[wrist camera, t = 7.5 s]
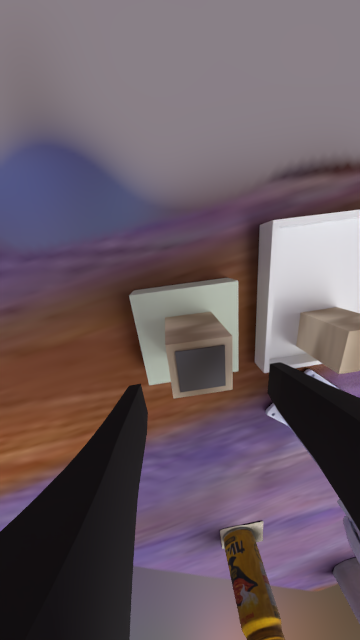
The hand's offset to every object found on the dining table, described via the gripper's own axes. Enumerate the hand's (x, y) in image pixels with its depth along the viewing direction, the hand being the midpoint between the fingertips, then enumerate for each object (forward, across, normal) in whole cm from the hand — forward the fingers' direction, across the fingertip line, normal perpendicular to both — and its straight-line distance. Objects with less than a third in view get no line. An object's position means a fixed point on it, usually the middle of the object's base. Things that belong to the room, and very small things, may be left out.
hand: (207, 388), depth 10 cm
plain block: (+8, -14, +2) cm, 16 cm away
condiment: (+9, -6, +46) cm, 47 cm away
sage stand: (+9, 0, 0) cm, 9 cm away
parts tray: (+9, -14, -2) cm, 17 cm away
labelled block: (+6, 0, 0) cm, 6 cm away
